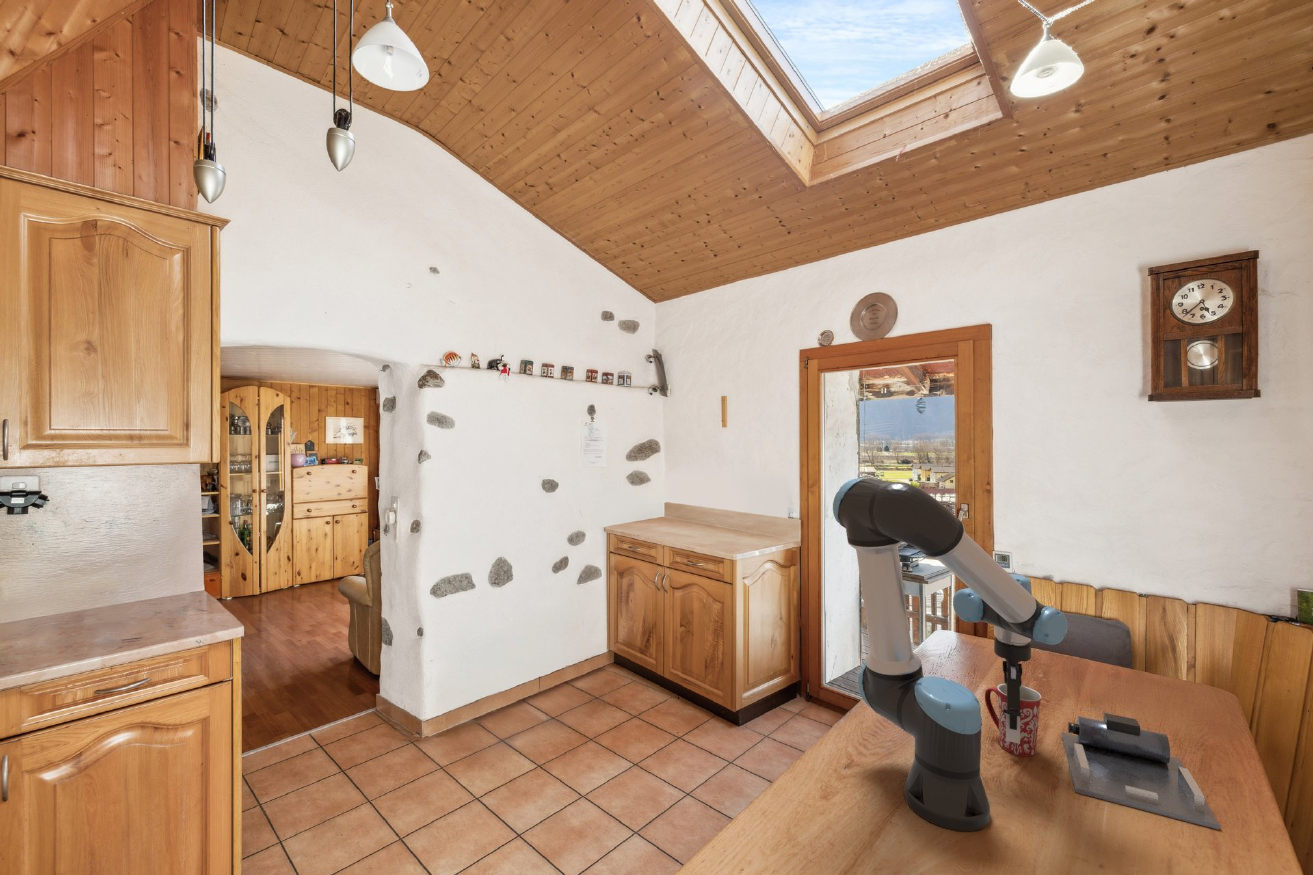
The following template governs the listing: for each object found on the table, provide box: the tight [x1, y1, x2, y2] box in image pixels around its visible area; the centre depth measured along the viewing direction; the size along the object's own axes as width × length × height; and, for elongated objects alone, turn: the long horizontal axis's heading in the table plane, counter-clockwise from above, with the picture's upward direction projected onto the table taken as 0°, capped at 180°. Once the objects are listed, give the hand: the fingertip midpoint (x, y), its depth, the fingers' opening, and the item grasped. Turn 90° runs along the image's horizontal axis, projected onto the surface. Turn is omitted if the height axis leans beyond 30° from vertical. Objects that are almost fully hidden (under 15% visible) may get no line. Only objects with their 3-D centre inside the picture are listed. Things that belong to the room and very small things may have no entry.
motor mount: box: [1060, 712, 1220, 831], centre depth 125 cm, size 26×22×8 cm
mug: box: [984, 683, 1043, 757], centre depth 138 cm, size 13×9×14 cm
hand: (1011, 728), depth 138 cm, fingers open, 13 cm apart
